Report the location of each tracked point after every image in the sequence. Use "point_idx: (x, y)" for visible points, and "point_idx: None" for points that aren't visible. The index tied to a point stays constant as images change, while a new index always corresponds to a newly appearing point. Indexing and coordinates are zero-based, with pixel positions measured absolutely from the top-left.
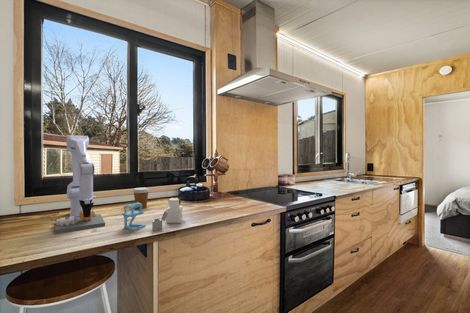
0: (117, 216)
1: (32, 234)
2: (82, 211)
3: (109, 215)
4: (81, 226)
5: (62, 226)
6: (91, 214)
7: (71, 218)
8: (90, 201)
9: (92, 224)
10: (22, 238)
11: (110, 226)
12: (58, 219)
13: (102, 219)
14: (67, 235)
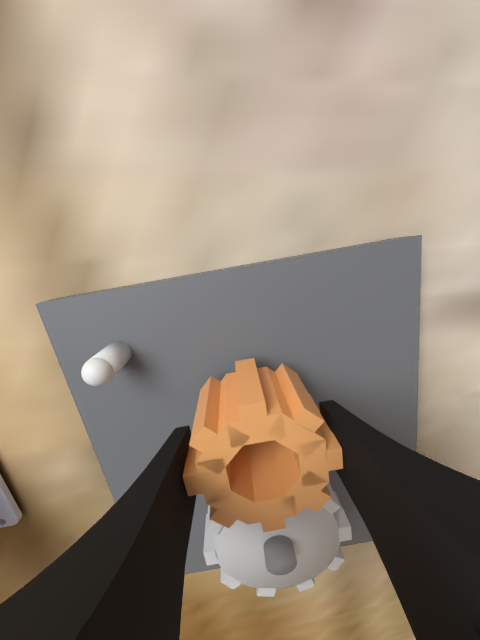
0: (93, 109)
1: (346, 592)
2: (252, 510)
3: (23, 207)
4: (415, 410)
5: (348, 517)
6: (304, 393)
7: None
8: (108, 617)
9: (417, 340)
10: (389, 606)
11: (448, 187)
12: (267, 591)
13: (288, 266)
14: (474, 449)
